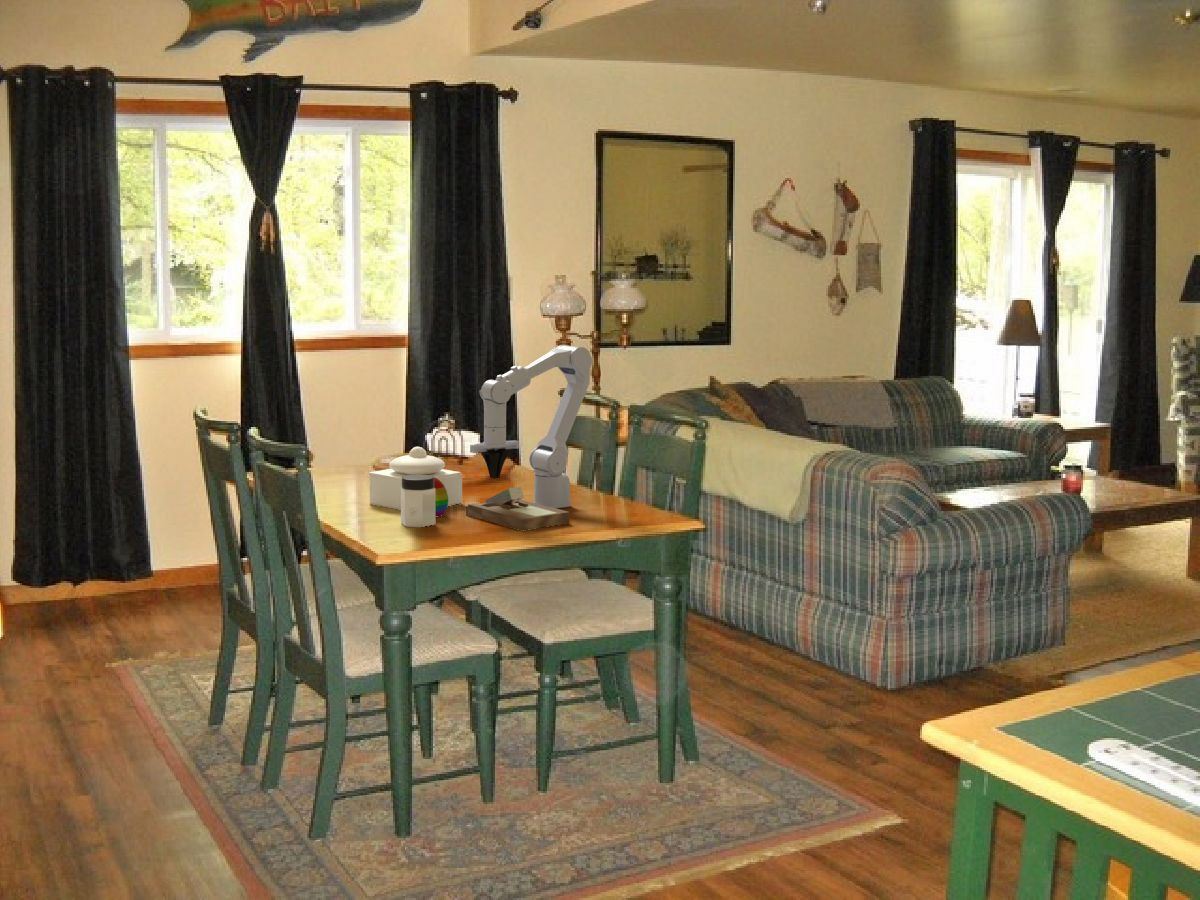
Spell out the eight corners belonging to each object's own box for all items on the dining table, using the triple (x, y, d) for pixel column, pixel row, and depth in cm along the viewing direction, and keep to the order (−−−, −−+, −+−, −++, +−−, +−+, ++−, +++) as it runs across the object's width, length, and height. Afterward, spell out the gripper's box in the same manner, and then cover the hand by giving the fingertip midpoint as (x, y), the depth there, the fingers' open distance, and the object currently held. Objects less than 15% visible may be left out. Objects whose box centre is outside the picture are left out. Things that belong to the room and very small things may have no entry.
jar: (395, 526, 330) (395, 479, 329) (405, 519, 338) (405, 473, 337) (430, 528, 329) (430, 480, 327) (439, 521, 337) (439, 475, 335)
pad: (531, 507, 342) (531, 506, 342) (557, 513, 335) (557, 512, 335) (509, 510, 338) (509, 509, 338) (535, 517, 330) (535, 516, 330)
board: (511, 508, 356) (511, 494, 355) (569, 523, 338) (569, 508, 337) (465, 515, 346) (465, 500, 345) (522, 531, 328) (522, 516, 327)
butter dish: (415, 514, 347) (415, 454, 344) (368, 504, 358) (367, 446, 355) (462, 504, 360) (462, 446, 358) (415, 495, 371) (415, 439, 369)
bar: (500, 509, 350) (497, 498, 351) (523, 497, 342) (521, 486, 342) (488, 511, 347) (485, 500, 348) (511, 499, 339) (508, 488, 340)
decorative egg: (413, 512, 347) (413, 475, 346) (444, 511, 350) (444, 473, 348) (420, 519, 340) (419, 480, 338) (451, 517, 342) (451, 479, 341)
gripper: (508, 422, 353) (507, 472, 355) (463, 426, 344) (463, 478, 346) (524, 425, 348) (523, 476, 350) (479, 429, 338) (479, 482, 340)
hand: (494, 477), depth 347 cm, fingers closed
